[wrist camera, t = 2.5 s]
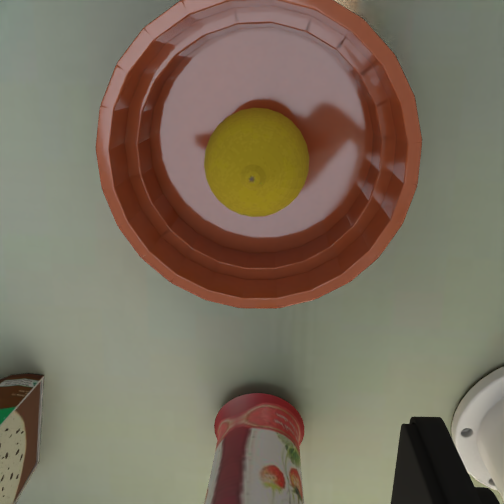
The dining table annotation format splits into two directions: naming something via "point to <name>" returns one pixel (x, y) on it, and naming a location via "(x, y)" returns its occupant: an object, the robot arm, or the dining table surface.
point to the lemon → (256, 162)
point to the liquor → (257, 452)
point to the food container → (19, 432)
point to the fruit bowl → (274, 98)
